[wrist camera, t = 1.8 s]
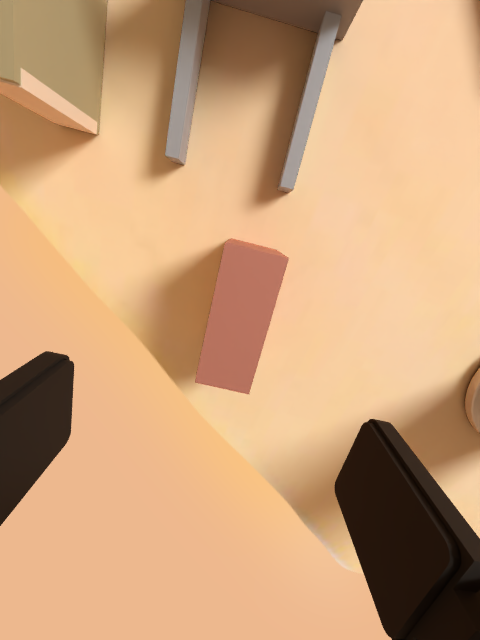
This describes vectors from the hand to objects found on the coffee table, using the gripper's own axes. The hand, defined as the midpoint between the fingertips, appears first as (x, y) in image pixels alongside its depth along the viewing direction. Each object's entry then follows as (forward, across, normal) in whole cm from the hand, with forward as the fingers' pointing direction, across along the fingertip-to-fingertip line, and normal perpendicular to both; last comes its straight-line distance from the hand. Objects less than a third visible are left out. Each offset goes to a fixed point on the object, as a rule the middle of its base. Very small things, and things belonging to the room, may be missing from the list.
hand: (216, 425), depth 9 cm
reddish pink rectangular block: (+17, -1, 0) cm, 17 cm away
